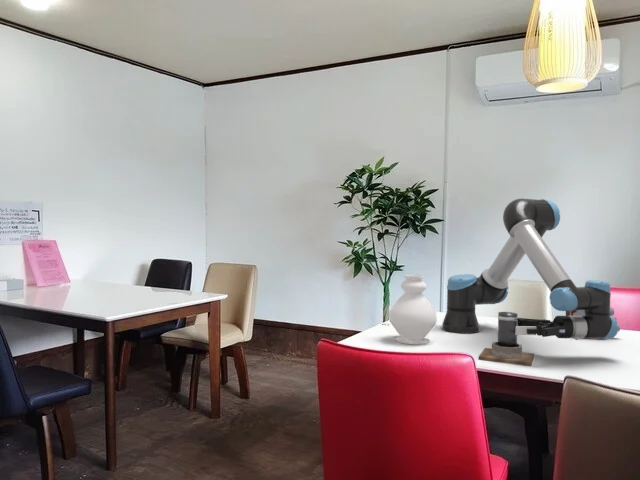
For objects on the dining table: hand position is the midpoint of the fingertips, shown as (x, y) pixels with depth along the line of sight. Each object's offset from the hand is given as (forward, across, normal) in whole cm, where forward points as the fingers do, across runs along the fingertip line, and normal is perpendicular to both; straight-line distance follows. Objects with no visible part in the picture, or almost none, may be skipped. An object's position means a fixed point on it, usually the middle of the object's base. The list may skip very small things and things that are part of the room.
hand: (506, 326), depth 170 cm
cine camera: (-50, +33, -11) cm, 61 cm away
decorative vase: (+26, +25, -11) cm, 38 cm away
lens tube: (0, 0, -10) cm, 10 cm away
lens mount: (0, 0, -11) cm, 11 cm away
